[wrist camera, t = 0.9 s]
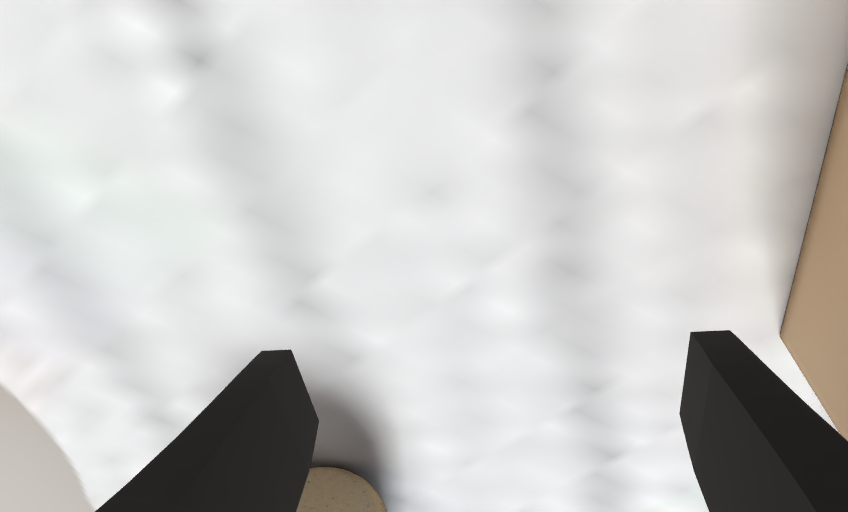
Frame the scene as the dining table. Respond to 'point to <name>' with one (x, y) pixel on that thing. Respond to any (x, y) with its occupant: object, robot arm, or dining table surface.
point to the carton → (825, 282)
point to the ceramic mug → (338, 492)
